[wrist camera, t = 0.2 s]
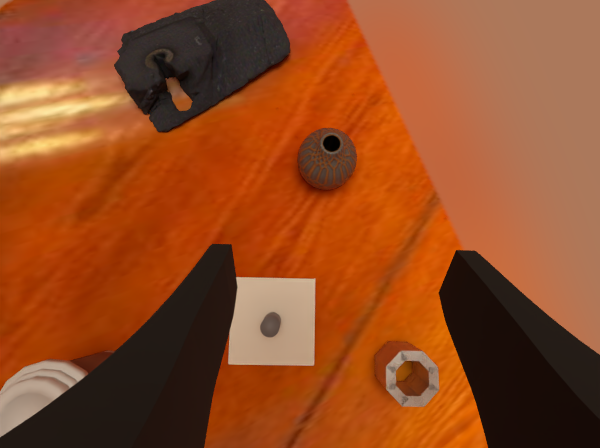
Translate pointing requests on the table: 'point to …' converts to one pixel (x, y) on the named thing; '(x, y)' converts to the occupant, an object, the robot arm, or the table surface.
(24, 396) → the coffee cup
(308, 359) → the post stand
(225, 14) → the crumpled black cloth
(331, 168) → the vase
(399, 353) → the collar
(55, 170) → the table surface
